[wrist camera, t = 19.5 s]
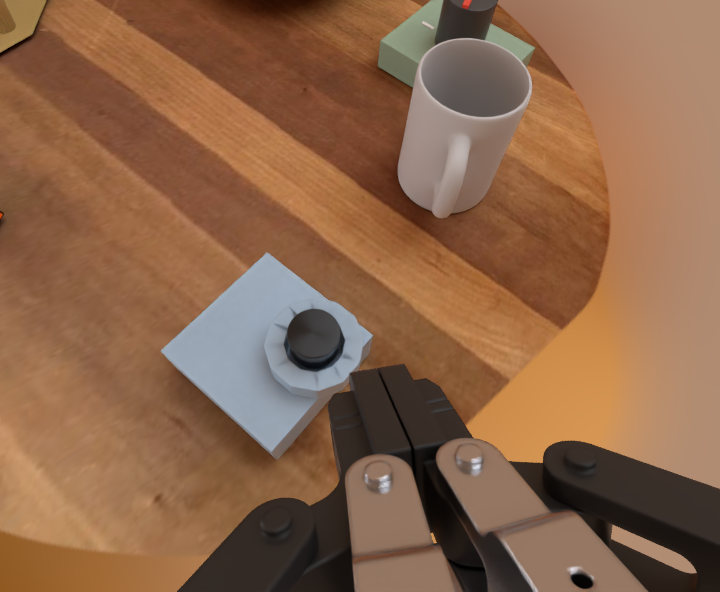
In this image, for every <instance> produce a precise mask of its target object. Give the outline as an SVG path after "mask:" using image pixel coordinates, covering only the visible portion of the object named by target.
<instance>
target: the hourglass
mask: <svg viewBox="0 0 720 592" xmlns="http://www.w3.org/2000/svg"><path fill="white" fill-rule="evenodd" d="M45 3H46V0H0V52H2V51H4V50H5V49H7V48H9V47H11V46H12V45H14V44H16V43H18V42H19V41H21V40H23V39H25V38H26V37H28V36H30V35H32V34H33V31H34V29H35V27H36V24H37V22H38V19H39V17H40V15H41V12H42V10H43V7H44V5H45Z"/></svg>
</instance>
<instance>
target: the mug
mask: <svg viewBox="0 0 720 592" xmlns="http://www.w3.org/2000/svg"><path fill="white" fill-rule="evenodd" d="M531 93H532V80H531V77H530V74H529V72H528V70H527V68H526V67H525V65H524V64H523V62H522V61H521V60H520V59H519V58H518V57H516V56H515V55H514V54H513V53H511V52H510V51H508V50H507V49H505V48H503V47H501V46H499V45H497V44H494V43H491V42H488V41H484V40H480V39H472V38H459V39H452V40H448V41H445V42H442V43H439V44H437V45H435V46H434V47H432V48H431V49H430V50H428V51H427V52H426V53H425V54H424V56H423V57H422V59H421V60H420V62H419V65H418V68H417V72H416V76H415V82H414V87H413V92H412V97H411V102H410V108H409V113H408V118H407V123H406V129H405V134H404V139H403V144H402V148H401V153H400V157H399V162H398V179H399V183H400V185H401V187H402V189H403V191H404V192H405V194H406V195H407V196H408V197H409V198H410V199H411V200H412V201H413V202H415V203H416V204H418V205H419V206H421V207H423V208H425V209H427V210H430V211H432V212H433V215H435V216H436V217H438V218H446V217H448V216H449V215H450V213H459V212H463V211H466V210H468V209H471V208H472V207H474V206H476V205H477V204H478V203H479V202H480V201H481V200H482V199H483V198H484V196H485V195H486V193H487V192H488V190H489V188H490V185H491V183H492V180H493V178H494V176H495V174H496V171H497V169H498V167H499V165H500V163H501V161H502V158H503V156H504V154H505V152H506V150H507V148H508V146H509V144H510V141H511V139H512V137H513V135H514V133H515V131H516V129H517V127H518V124H519V122H520V120H521V118H522V116H523V114H524V112H525V110H526V107H527V105H528V103H529V100H530V97H531Z"/></svg>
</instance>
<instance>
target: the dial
mask: <svg viewBox="0 0 720 592" xmlns="http://www.w3.org/2000/svg"><path fill="white" fill-rule="evenodd" d="M497 2H498V0H443V4H442V8H441V13H440V18H439V22H438V27H437V31H436V36H435V44H436V45H437V44H439V43H442V42H445V41H448V40H452V39H459V38H472V39H480V40H484V41H485V39H486V36H487V33H488V30H489V27H490V23H491V20H492V17H493V14H494V11H495V8H496V5H497Z"/></svg>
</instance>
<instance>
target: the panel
mask: <svg viewBox="0 0 720 592" xmlns="http://www.w3.org/2000/svg"><path fill="white" fill-rule="evenodd" d="M442 4H443V0H431V1H430V2H429V3H427V4H426V5H425V6H423V7H422V8H421V9H420V10H418V11H417V12H416V13H415V14H413V15H412V16H411V17H410V18H408V19H407V20H406V21H405V22H403V23H402V24H401V25H399V26H398V27H397V28H396V29H394V30H393V31H392V32H391V33H389V34H388V35H387V36H386V37H384V38H383V39H382V40H381V41H380V50H379V59H378V67H379V68H381V69H383V70H384V71H386V72H388V73H389V74H391V75H393V76H394V77H396V78H397V79H399V80H401V81H402V82H404V83H406V84H407V85H409V86H410V87H412V88H413V87H414V82H415V76H416V72H417V68H418V65H419V62H420V60H421V59H422V57H423V56H424V54H425V53H426V52H427V51H428V50H430V49H431V48H432V47H434V46H435V45H436V44H435V36H436V31H437V27H438V22H439V18H440V13H441V8H442ZM485 41H488V42H491V43H494V44H497V45H499V46H501V47H503V48H505V49H507V50H508V51H510V52H511V53H513V54H514V55H515V56H516V57H518V58H519V59H520V60H521V61H522V62H523V64H524V65H525V67H526V68H527V66H528V63H529V61H530V59H531V56H532V54H533V52H534V49H535V47H533V46H531V45H529V44H527V43H525V42H524V41H522V40H520V39H518V38H516V37H514V36H513V35H511V34H509V33H507V32H505V31H504V30H502V29H500V28H498V27H496V26H494V25H493V24H491V23H490V27H489V30H488V33H487V36H486V39H485Z"/></svg>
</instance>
